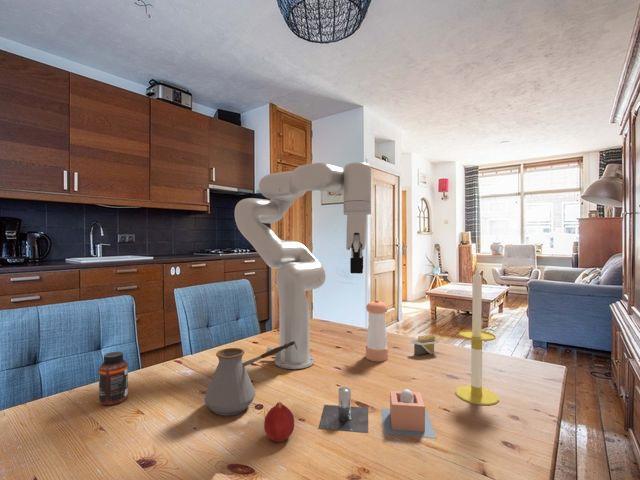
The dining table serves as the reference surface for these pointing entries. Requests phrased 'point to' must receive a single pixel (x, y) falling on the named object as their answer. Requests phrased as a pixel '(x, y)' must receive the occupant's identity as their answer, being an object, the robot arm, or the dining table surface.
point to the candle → (476, 351)
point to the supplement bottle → (113, 379)
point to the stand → (344, 415)
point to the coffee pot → (233, 381)
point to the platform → (424, 344)
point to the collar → (407, 412)
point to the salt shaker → (376, 332)
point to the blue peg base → (387, 428)
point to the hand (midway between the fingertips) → (357, 271)
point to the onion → (279, 423)
